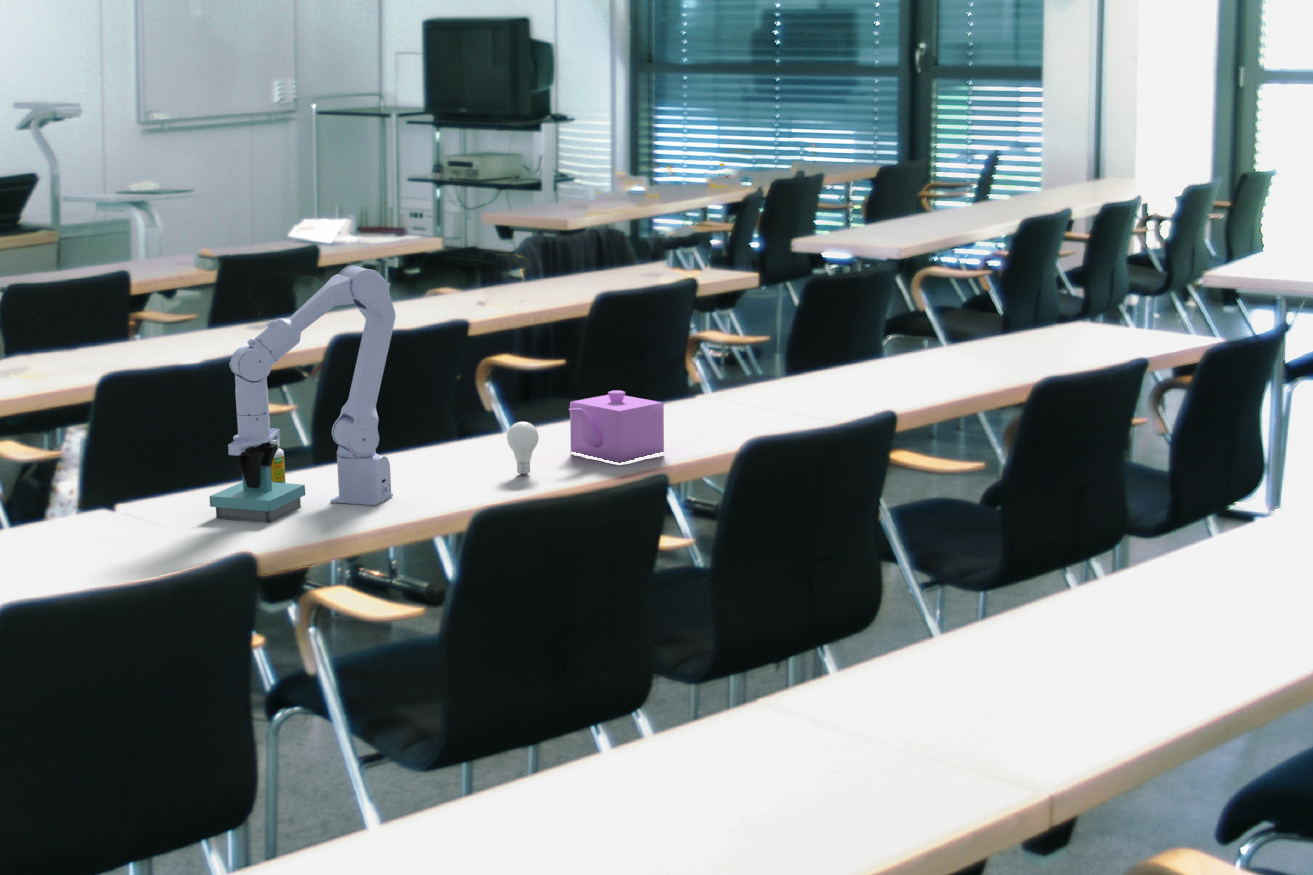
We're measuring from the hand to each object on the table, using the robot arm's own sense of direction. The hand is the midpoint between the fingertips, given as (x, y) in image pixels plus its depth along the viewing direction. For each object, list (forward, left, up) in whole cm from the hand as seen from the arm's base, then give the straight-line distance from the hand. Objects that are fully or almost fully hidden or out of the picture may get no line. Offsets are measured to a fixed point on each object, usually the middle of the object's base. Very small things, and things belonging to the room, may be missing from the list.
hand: (257, 485), depth 287 cm
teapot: (-48, -62, -6) cm, 79 cm away
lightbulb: (-36, -41, -5) cm, 55 cm away
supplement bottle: (+8, -18, -5) cm, 20 cm away
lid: (0, 0, -3) cm, 3 cm away
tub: (0, 0, -5) cm, 5 cm away
